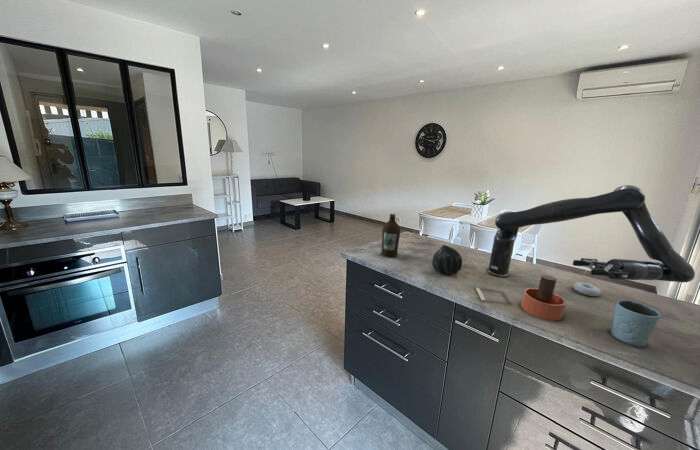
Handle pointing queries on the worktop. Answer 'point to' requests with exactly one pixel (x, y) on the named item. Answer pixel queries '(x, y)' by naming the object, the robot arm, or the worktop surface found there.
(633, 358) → the worktop surface
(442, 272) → the squash
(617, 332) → the blue embossed planter
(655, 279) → the robot arm
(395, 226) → the olive oil
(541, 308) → the pot
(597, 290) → the donut
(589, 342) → the worktop surface
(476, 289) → the cloth
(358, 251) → the worktop surface
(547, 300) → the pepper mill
